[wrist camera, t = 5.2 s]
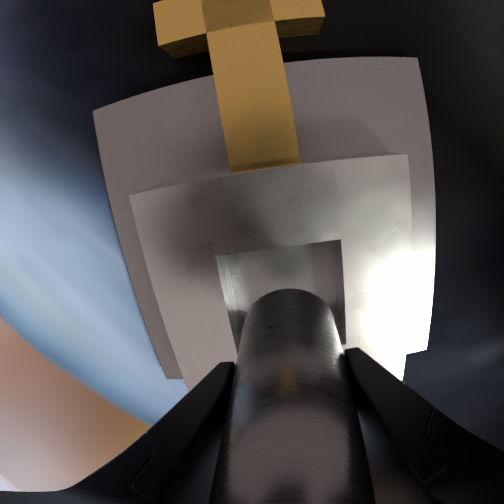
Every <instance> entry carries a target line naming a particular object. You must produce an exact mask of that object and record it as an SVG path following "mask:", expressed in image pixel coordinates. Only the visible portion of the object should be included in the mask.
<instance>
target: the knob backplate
mask: <svg viewBox="0 0 504 504" xmlns="http://www.w3.org/2000/svg"><path fill="white" fill-rule="evenodd" d="M153 9H154V17H155V25H156V33H157V41H158V46H159V47H160V48H162V49H163V50H164V51H166V52H167V53H169V54H170V55H171V56H173V57H174V58H175V59H178V58H182V57H185V56H189V55H193V54H197V53H202V52H206V51H209V52H210V58H211V63H212V69H213V75H211V76H206V77H202V78H198V79H193V80H189V81H185V82H181V83H177V84H174V85H170V86H166V87H163V88H159V89H156V90H152V91H149V92H146V93H143V94H139V95H136V96H133V97H130V98H127V99H124V100H121V101H118V102H115V103H113V104H110V105H107V106H104V107H102V108H99V109H96V110H94V111H93V116H94V123H95V129H96V135H97V141H98V147H99V152H100V158H101V163H102V168H103V173H104V178H105V182H106V187H107V192H108V196H109V200H110V205H111V209H112V213H113V217H114V221H115V225H116V229H117V233H118V237H119V240H120V244H121V248H122V251H123V255H124V258H125V262H126V265H127V269H128V272H129V275H130V279H131V282H132V285H133V288H134V291H135V294H136V298H137V301H138V304H139V307H140V310H141V313H142V315H143V318H144V321H145V324H146V327H147V330H148V333H149V335H150V338H151V341H152V343H153V346H154V349H155V351H156V354H157V357H158V359H159V362H160V364H161V367H162V369H163V372H164V374H165V377H166V379H184V381H185V384H186V386H187V389H188V391H189V392H190V391H191V390H192V389H193V388H194V387H195V386H196V385H197V384H198V383H199V382H200V381H201V380H202V379H203V378H204V377H205V376H206V375H207V374H208V373H209V372H210V371H211V370H212V369H213V368H214V367H215V366H216V365H217V364H218V363H220V362H228V361H233V362H234V363H235V364H236V361H237V356H238V351H239V346H240V341H241V336H242V330H243V325H244V320H245V317H246V314H247V312H248V310H249V309H250V307H251V306H252V305H253V304H254V303H255V302H256V301H257V300H258V299H259V298H261V297H262V296H264V295H266V294H268V293H270V292H273V291H276V290H280V289H289V288H292V289H301V290H305V291H308V292H311V293H313V294H315V295H317V296H318V297H320V298H321V299H322V300H323V301H324V302H325V303H326V304H327V305H328V307H329V308H330V310H331V312H332V314H333V317H334V321H335V325H336V328H337V332H338V336H339V339H340V343H341V347H342V351H343V355H344V350H345V349H348V348H354V347H359V348H360V349H362V350H363V351H364V352H365V353H367V354H368V355H369V356H370V357H372V358H373V359H374V360H376V361H377V362H378V363H379V364H381V365H382V366H383V367H384V368H386V369H387V370H388V371H389V372H391V373H392V374H393V375H394V376H396V377H397V378H398V379H400V380H401V381H402V380H403V373H404V366H405V358H406V354H409V353H413V352H418V351H422V350H426V349H427V342H428V335H429V327H430V319H431V309H432V299H433V287H434V271H435V245H436V209H435V183H434V167H433V155H432V145H431V136H430V127H429V120H428V113H427V106H426V100H425V94H424V88H423V83H422V78H421V73H420V68H419V63H418V59H417V58H412V57H348V58H330V59H317V60H306V61H296V62H287V63H283V59H282V54H281V49H280V44H279V38H288V37H297V36H308V35H318V34H319V31H320V29H321V26H322V24H323V21H324V18H325V13H324V9H323V6H322V2H321V0H162V1H159V2H156V3H153Z"/></svg>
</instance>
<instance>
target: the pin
mask: <svg viewBox="0 0 504 504" xmlns="http://www.w3.org/2000/svg"><path fill="white" fill-rule="evenodd" d="M208 504H376V501H375V495H374V489H373V484H372V479H371V473H370V468H369V463H368V458H367V453H366V448H365V444H364V439H363V434H362V430H361V425H360V421H359V416H358V412H357V407H356V403H355V399H354V395H353V391H352V386H351V382H350V378H349V374H348V370H347V366H346V362H345V358H344V355H343V351H342V347H341V343H340V339H339V336H338V332H337V328H336V325H335V321H334V317H333V314H332V312H331V310H330V308H329V307H328V305H327V304H326V303H325V302H324V301H323V300H322V299H321V298H320V297H318V296H317V295H315V294H313V293H311V292H308V291H305V290H301V289H292V288H289V289H280V290H276V291H273V292H270V293H268V294H266V295H264V296H262V297H261V298H259V299H258V300H257V301H256V302H255V303H254V304H253V305H252V306H251V307H250V309H249V310H248V312H247V314H246V317H245V320H244V325H243V330H242V336H241V341H240V346H239V351H238V356H237V361H236V366H235V371H234V377H233V382H232V387H231V392H230V397H229V402H228V407H227V412H226V417H225V422H224V427H223V432H222V437H221V443H220V448H219V453H218V458H217V463H216V468H215V473H214V478H213V483H212V487H211V492H210V497H209V502H208Z"/></svg>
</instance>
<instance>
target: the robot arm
mask: <svg viewBox="0 0 504 504" xmlns="http://www.w3.org/2000/svg"><path fill="white" fill-rule="evenodd" d="M344 358H345V362H346V366H347V370H348V374H349V378H350V382H351V386H352V391H353V395H354V399H355V403H356V407H357V412H358V416H359V421H360V425H361V430H362V434H363V439H364V444H365V448H366V453H367V458H368V463H369V468H370V473H371V479H372V484H373V489H374V495H375V501H376V504H504V451H502V450H500V449H498V448H497V447H495V446H493V445H491V444H490V443H488V442H486V441H484V440H483V439H481V438H479V437H478V436H476V435H474V434H472V433H471V432H469V431H468V430H466V429H464V428H463V427H461V426H460V425H458V424H457V423H455V422H454V421H453V420H451V419H450V418H448V417H447V416H446V415H444V414H443V413H442V412H440V411H439V410H438V409H437V408H434V406H433V405H431V404H430V403H429V402H428V401H426V400H425V399H424V398H422V397H421V396H420V395H419V394H417V393H416V392H415V391H414V390H412V389H411V388H410V387H408V386H407V385H406V384H405V383H403V382H402V381H401V380H400V379H398V378H397V377H396V376H394V375H393V374H392V373H391V372H389V371H388V370H387V369H386V368H384V367H383V366H382V365H381V364H379V363H378V362H377V361H376V360H374V359H373V358H372V357H370V356H369V355H368V354H367V353H365V352H364V351H363V350H362V349H360V348H359V347H354V348H348V349H345V350H344ZM235 366H236V364H235V363H234V362H233V361H228V362H220V363H218V364H217V365H216V366H215V367H214V368H213V369H212V370H211V371H210V372H209V373H208V374H207V375H206V376H205V377H204V378H203V379H202V380H201V381H200V382H199V383H198V384H197V385H196V386H195V387H194V388H193V389H192V390H191V391H190V392H189V393H187V394H186V395H185V396H184V397H183V398H182V399H181V400H180V401H179V402H178V403H177V404H176V405H175V406H174V407H173V408H172V409H171V410H169V411H168V412H167V413H166V414H165V415H164V416H163V417H162V418H161V419H160V420H159V421H158V422H156V423H155V424H154V425H153V426H152V427H151V428H150V429H149V430H148V431H147V434H146V433H144V434H143V435H142V436H141V437H140V438H139V439H138V440H136V441H135V442H134V443H133V444H132V445H131V446H129V447H128V448H127V449H126V450H124V451H123V452H122V453H121V454H119V455H118V456H117V457H115V458H114V459H112V460H111V461H110V462H108V463H107V464H106V465H104V466H102V467H101V468H100V469H98V470H97V471H95V472H94V473H92V474H91V475H89V476H88V477H86V478H85V479H83V480H82V481H80V482H78V483H77V484H75V485H73V486H71V487H69V488H67V489H63V490H59V491H52V492H14V491H0V504H208V502H209V497H210V492H211V487H212V483H213V478H214V473H215V468H216V463H217V458H218V453H219V448H220V443H221V437H222V432H223V427H224V422H225V417H226V412H227V407H228V402H229V397H230V392H231V387H232V382H233V377H234V371H235Z"/></svg>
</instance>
